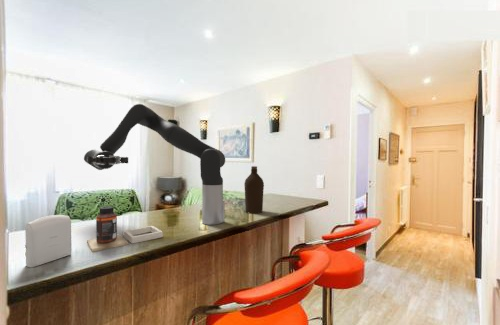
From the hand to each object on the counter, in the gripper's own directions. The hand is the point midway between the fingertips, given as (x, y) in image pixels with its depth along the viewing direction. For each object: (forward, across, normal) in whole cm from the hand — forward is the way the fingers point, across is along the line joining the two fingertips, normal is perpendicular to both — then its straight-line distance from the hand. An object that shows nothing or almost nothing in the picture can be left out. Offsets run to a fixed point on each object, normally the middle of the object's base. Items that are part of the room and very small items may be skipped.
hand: (111, 160), depth 93 cm
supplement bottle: (+13, -4, +27) cm, 31 cm away
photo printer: (+18, -19, +28) cm, 39 cm away
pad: (+13, -4, +28) cm, 31 cm away
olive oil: (+7, +68, +28) cm, 74 cm away
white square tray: (+13, +8, +28) cm, 32 cm away
